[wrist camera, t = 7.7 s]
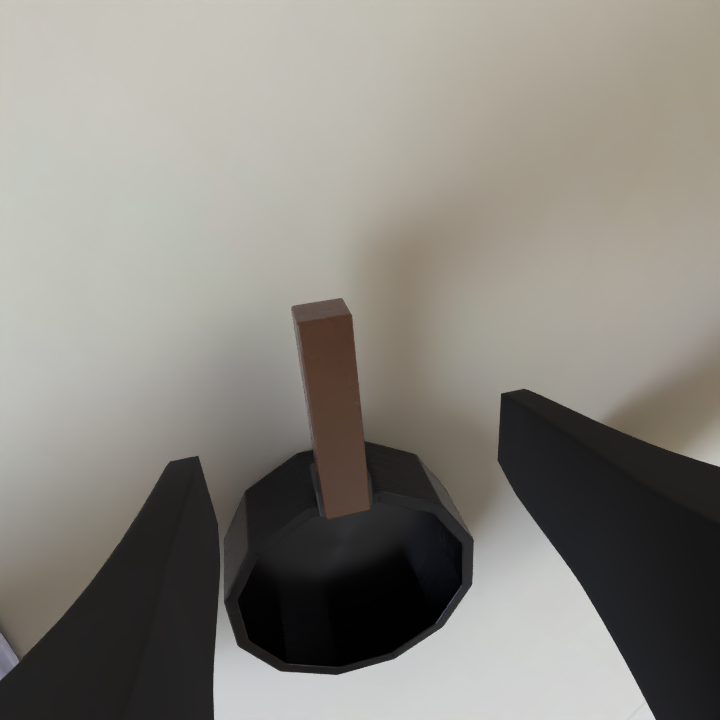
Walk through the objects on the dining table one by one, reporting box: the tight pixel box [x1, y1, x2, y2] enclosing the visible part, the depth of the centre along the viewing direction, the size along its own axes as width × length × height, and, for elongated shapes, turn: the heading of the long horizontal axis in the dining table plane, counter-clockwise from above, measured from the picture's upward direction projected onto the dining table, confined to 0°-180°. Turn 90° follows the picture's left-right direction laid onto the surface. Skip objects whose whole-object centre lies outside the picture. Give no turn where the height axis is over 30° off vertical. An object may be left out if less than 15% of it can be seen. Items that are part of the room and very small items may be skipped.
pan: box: [224, 298, 474, 675], centre depth 20 cm, size 17×10×4 cm, turn 5°
